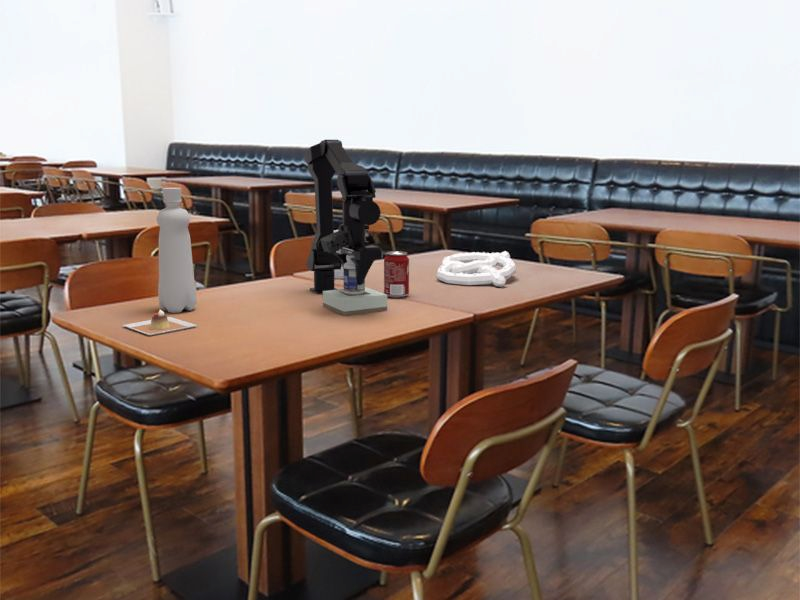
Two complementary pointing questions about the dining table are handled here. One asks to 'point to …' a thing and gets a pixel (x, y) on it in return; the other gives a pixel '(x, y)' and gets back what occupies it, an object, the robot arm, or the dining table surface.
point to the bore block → (354, 301)
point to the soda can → (396, 274)
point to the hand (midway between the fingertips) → (354, 282)
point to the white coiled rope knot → (476, 268)
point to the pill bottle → (351, 277)
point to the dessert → (160, 323)
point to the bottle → (175, 256)
